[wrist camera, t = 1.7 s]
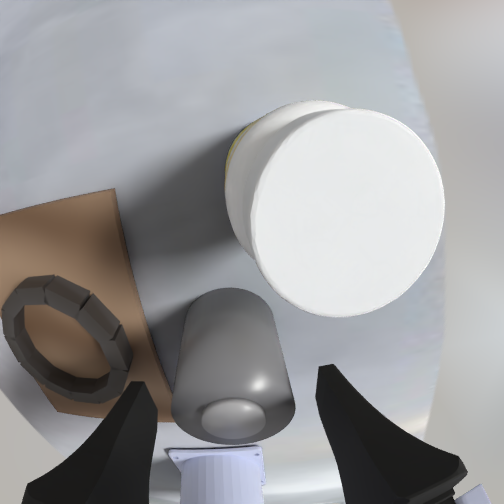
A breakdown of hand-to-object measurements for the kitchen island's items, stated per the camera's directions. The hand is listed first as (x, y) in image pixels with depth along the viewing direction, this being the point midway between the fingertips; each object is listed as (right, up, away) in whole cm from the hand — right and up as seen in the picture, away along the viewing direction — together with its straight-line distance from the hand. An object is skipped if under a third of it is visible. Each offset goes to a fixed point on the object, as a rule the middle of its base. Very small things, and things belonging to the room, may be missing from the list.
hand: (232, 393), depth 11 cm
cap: (0, +2, +4) cm, 5 cm away
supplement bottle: (+2, +9, +2) cm, 10 cm away
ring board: (-10, +1, +4) cm, 11 cm away
